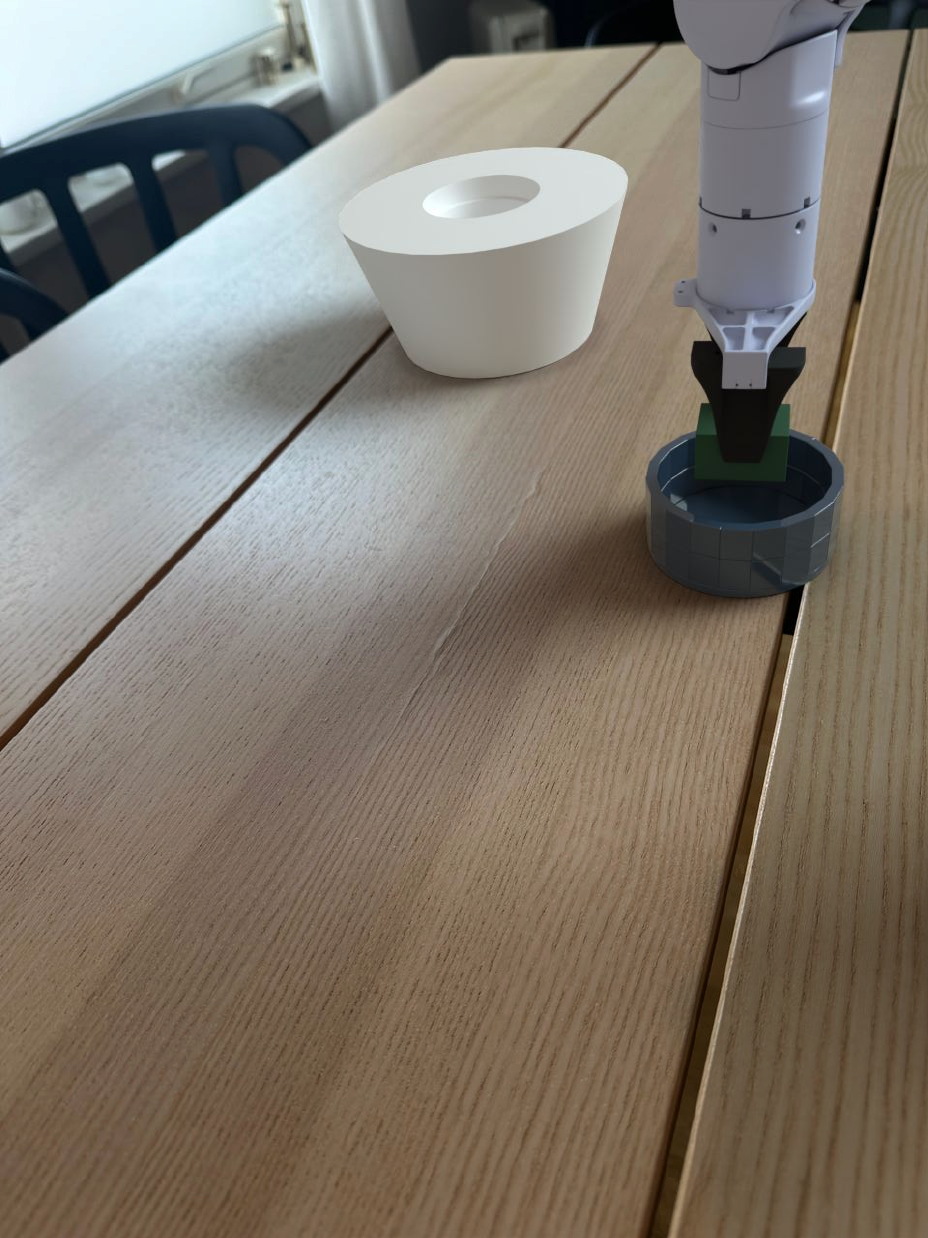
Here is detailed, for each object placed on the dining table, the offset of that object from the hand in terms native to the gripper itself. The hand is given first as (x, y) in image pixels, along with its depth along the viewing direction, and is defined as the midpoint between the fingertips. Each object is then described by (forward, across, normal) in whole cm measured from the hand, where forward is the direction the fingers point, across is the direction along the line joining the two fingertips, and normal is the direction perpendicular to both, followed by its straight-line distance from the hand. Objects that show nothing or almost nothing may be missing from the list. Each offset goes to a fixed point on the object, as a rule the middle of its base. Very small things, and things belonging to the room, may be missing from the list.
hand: (744, 439), depth 56 cm
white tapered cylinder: (+8, -30, -23) cm, 38 cm away
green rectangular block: (+2, 0, 0) cm, 2 cm away
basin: (+8, -1, 0) cm, 8 cm away
